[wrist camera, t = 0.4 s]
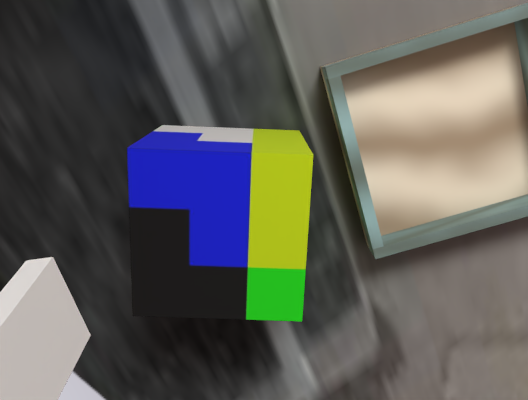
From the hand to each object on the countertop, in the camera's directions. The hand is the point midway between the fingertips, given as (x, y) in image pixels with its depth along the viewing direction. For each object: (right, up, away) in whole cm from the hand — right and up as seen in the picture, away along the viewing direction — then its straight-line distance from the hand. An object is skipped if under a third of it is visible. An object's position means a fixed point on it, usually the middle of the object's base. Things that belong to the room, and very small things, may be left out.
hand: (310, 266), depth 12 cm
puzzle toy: (-4, +2, +25) cm, 26 cm away
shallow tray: (+12, +7, +24) cm, 27 cm away
